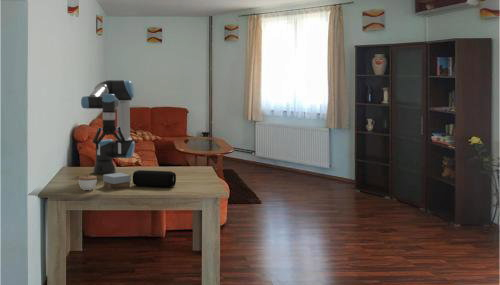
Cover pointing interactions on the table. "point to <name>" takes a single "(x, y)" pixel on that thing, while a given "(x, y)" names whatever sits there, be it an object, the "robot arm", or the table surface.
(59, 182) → the table surface
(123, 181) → the tower top
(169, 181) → the portable speaker
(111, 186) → the tower base
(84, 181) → the lidded jar
